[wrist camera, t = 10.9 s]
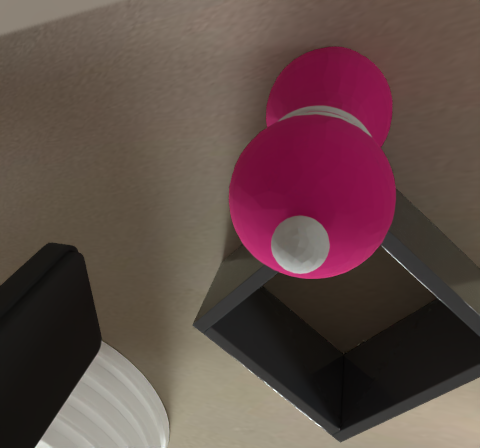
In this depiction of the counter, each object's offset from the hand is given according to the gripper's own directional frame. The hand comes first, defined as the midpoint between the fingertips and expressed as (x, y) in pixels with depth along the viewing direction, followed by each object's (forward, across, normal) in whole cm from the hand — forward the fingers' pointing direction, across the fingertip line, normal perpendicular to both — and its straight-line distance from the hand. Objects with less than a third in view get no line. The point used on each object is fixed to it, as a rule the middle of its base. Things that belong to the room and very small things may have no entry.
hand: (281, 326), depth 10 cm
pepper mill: (+24, 0, +1) cm, 24 cm away
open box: (+23, -3, +15) cm, 28 cm away
